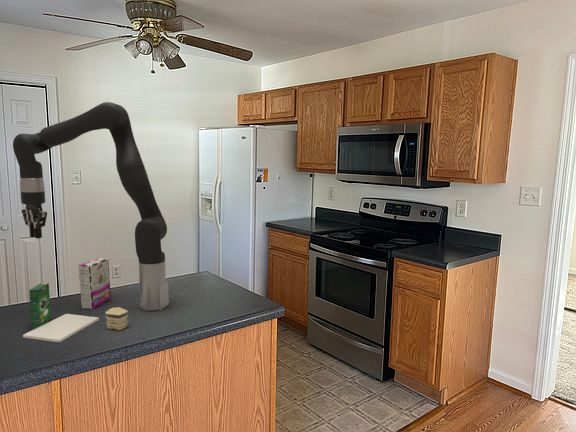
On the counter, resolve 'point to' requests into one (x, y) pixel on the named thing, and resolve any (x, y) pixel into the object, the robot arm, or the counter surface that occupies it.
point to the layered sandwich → (116, 318)
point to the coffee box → (40, 305)
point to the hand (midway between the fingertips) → (35, 237)
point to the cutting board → (61, 328)
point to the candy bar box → (94, 283)
